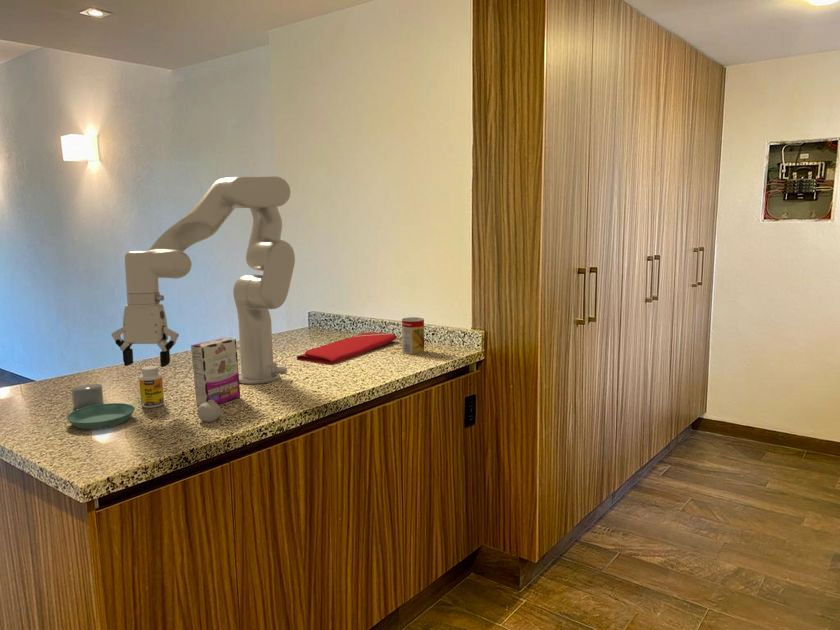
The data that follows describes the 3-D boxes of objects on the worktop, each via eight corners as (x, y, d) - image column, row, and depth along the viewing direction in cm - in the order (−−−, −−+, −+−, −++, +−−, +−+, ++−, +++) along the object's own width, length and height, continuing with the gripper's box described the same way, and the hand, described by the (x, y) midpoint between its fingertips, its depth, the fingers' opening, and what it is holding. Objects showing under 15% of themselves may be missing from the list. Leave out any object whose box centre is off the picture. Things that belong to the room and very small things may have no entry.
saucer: (59, 436, 141) (58, 424, 140) (76, 416, 155) (75, 406, 154) (130, 429, 145) (129, 418, 144) (140, 410, 159) (139, 400, 158)
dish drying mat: (295, 361, 212) (295, 350, 211) (364, 339, 247) (364, 330, 246) (332, 366, 204) (331, 355, 203) (398, 343, 239) (398, 334, 238)
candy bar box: (228, 395, 171) (224, 336, 168) (241, 397, 168) (237, 338, 165) (194, 405, 161) (190, 344, 159) (207, 408, 159) (203, 346, 156)
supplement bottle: (143, 410, 158) (140, 371, 156) (139, 404, 163) (136, 366, 161) (166, 406, 161) (163, 368, 159) (162, 400, 166) (159, 363, 164)
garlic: (226, 420, 150) (225, 399, 149) (205, 426, 146) (204, 404, 145) (213, 415, 153) (212, 395, 153) (193, 420, 149) (191, 400, 149)
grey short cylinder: (109, 402, 165) (107, 384, 165) (93, 410, 158) (91, 391, 158) (84, 401, 166) (82, 383, 165) (67, 410, 159) (65, 391, 158)
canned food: (428, 351, 222) (428, 318, 220) (416, 355, 216) (416, 321, 214) (410, 348, 226) (409, 316, 224) (398, 353, 220) (397, 319, 218)
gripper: (182, 298, 160) (185, 363, 163) (118, 297, 162) (122, 361, 164) (169, 301, 153) (172, 369, 155) (102, 300, 154) (106, 367, 156)
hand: (146, 365), depth 160 cm, fingers open, 9 cm apart
